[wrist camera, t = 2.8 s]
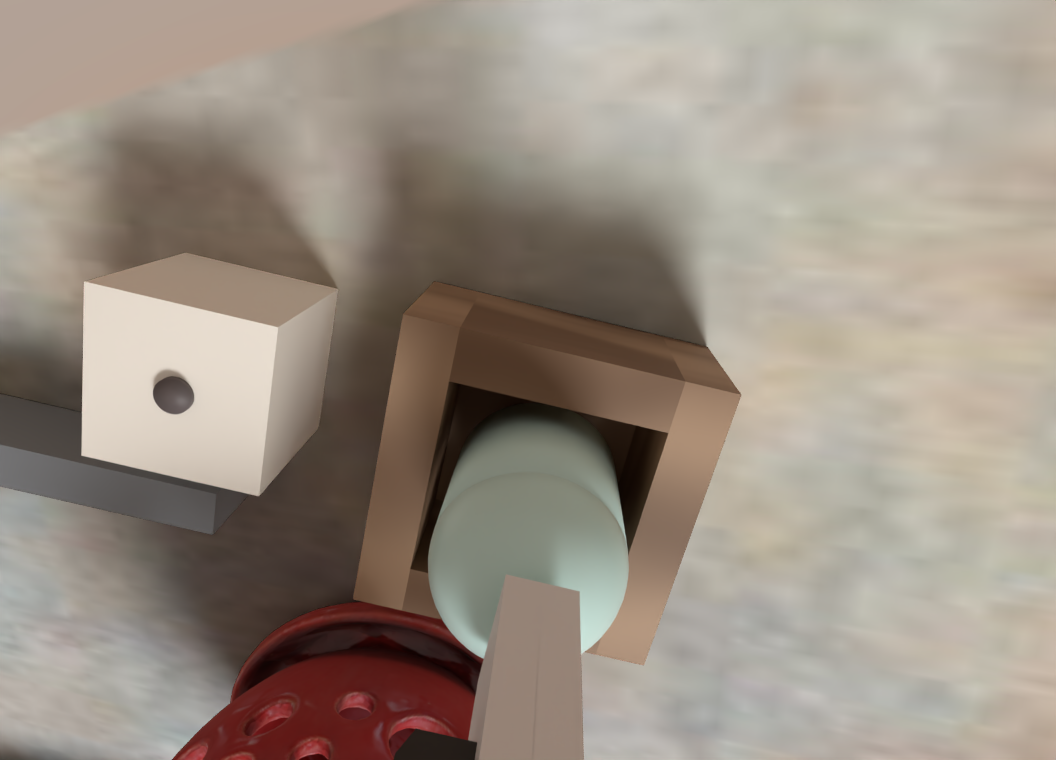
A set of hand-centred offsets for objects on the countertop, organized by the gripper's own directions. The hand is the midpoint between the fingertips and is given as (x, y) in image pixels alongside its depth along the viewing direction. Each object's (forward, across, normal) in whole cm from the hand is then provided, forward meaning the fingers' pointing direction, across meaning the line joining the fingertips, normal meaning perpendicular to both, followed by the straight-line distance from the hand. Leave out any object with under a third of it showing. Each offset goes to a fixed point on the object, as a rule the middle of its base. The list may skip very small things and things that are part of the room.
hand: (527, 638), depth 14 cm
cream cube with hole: (+10, +10, -1) cm, 14 cm away
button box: (+10, 0, 0) cm, 10 cm away
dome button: (+7, 0, 0) cm, 7 cm away
